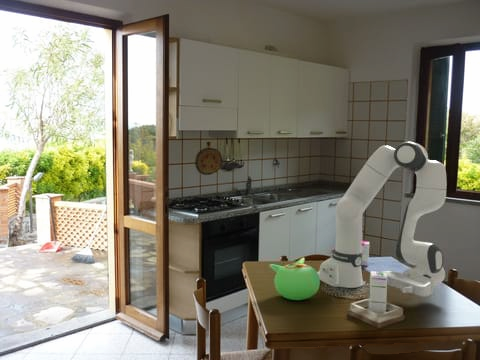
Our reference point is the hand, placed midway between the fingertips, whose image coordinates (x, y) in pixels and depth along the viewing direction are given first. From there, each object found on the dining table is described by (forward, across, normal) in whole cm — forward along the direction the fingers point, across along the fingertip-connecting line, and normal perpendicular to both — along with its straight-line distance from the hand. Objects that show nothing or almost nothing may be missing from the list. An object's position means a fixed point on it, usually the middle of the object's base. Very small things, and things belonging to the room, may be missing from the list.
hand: (390, 286), depth 169 cm
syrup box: (+8, 0, +9) cm, 11 cm away
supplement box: (-39, -46, +10) cm, 61 cm away
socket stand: (+8, 0, +10) cm, 13 cm away
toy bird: (+20, -29, +10) cm, 37 cm away
